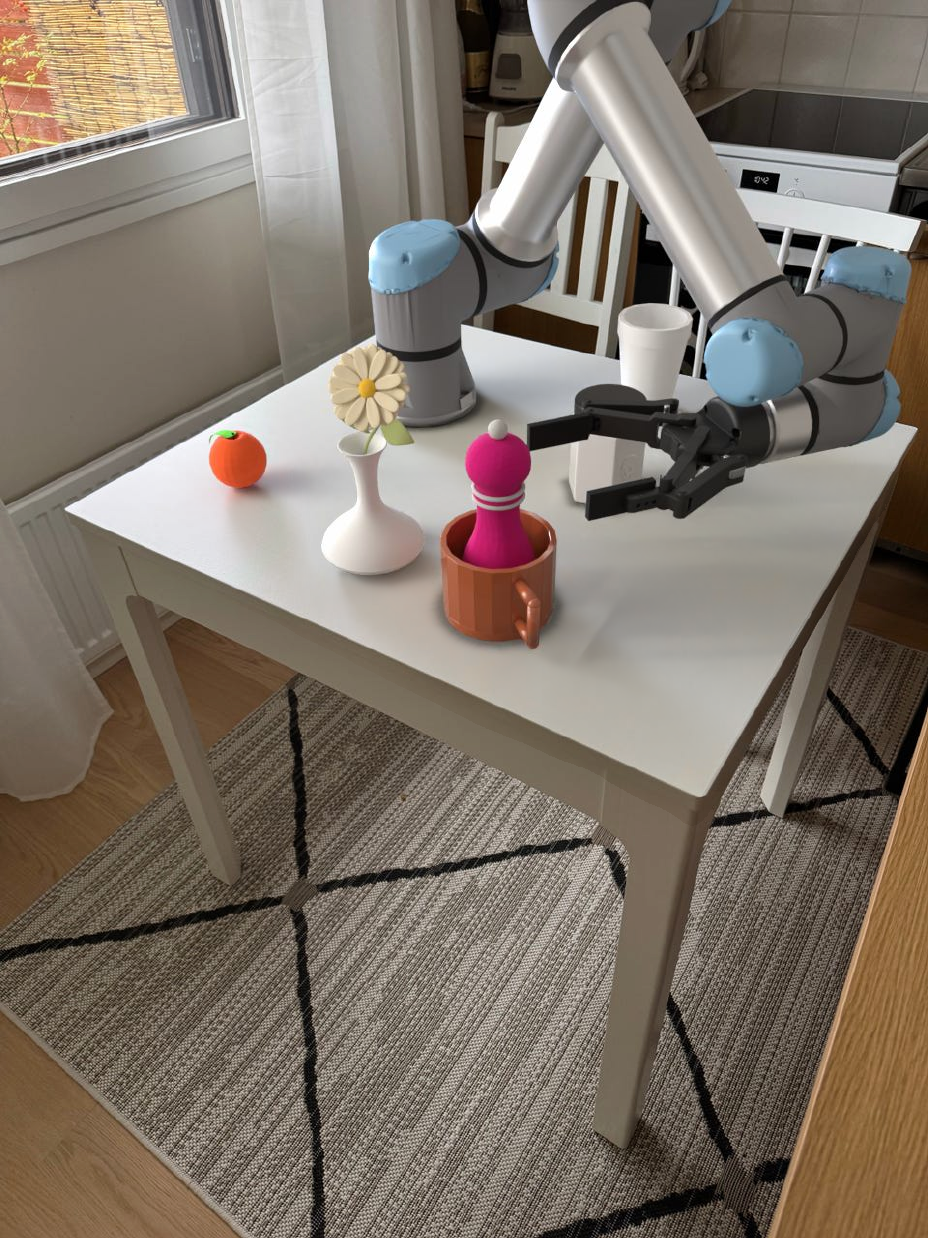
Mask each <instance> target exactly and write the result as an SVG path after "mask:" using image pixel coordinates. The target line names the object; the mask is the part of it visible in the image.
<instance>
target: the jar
mask: <svg viewBox="0 0 928 1238" xmlns="http://www.w3.org/2000/svg"><path fill="white" fill-rule="evenodd" d="M584 399H621V400H647V399H646V397H645V395H644V394H643V393H641V392H640V391H638V390H636V389H634V388H632V387H629V386H625V385H621V384H618V383H601V384H593V385H590V386H586V387H585V388H583V389H581V390H580V391H578V392H577V394H576V395H575V397H574V407H573V410H574V411H573V413H572V414H571V415H573V414H578V413H581V412H582V402H583V400H584ZM569 451H570V453H569V469H568V471H569V472H568V483H569V486H570V487H569V488H570V491H571V494H572V497H573V501H574V502H576V503H581V504H584V505H586V493H587V491H590V490H594V489H599V488H603V487H608V486H612V485H617V484H621V483H626V482H630V481H635V480H640V479H643V478H642V476H643V468H644V460H645V451H646V443H645V442H639V441H632V440H625V439H619V438H612V437H605V436H598V435H592V434H590V436H589V438H588V440H583V441H578V442H573V443H570V450H569Z"/></svg>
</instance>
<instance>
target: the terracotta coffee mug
mask: <svg viewBox="0 0 928 1238" xmlns="http://www.w3.org/2000/svg"><path fill="white" fill-rule="evenodd" d="M520 519H521V522H522V526H523V528H524V531H525V533H526V535H527V537H528V539H529V541H530V543H531V545H532V549H533V552H534V556H535V560H534V561H532V562H530V563H528V564H526V565H522V566H518V567H514V568H507V569H489V568H482V567H476V566H474V565H471V564H468V563H466V562H463V554H464V551H465V547H466V545H467V543H468V541H469V539H470V537H471V535H472V533H473V531H474V529H475V524H476V520H477V508H475V509H471V510H468V511H465V512H464V513H462V514H459V515H457V516H455V517H454V518H453V519H451V520H450V521H449V522H448V523H446V525H445V526H444V528H443V529H442V532H441V534H440V537H439V540H440V541H439V543H440V561H441V562H440V563H441V580H442V596H443V597H442V598H443V608H444V609H443V611H444V615H445V617H446V620H447V621H448V623H449V624H450V625H451V626H452V627H453V628H454V629H456V630H457V631H458V632H460V633H461V634H463V635H465V636H468V637H470V638H473V639H476V640H480V641H485V642H495V643H496V642H499V643H500V642H501V643H502V642H511V641H516V640H520V639H522V640H523V642H524V643H525V645H526V646H527V648H528V649H530V650H536V649H538V647H539V645H540V635H541V634H540V632H541V631H540V630H542V629H543V628H544V627H545V626H546V625H547V624H548V623H549V621H550V620H551V618H552V616H553V611H554V603H555V592H556V591H555V590H556V570H557V569H556V567H557V549H558V547H557V544H558V539H557V535H556V531H555V530H556V529H554V527H553V526H552V525H551V523H550V522H549V521H548V520H547V519H545V518H544V517H542V516H541V515H538V514H536V513H535V512H532V511H529V510H526V509H523V508H520Z"/></svg>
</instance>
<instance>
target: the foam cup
mask: <svg viewBox="0 0 928 1238" xmlns="http://www.w3.org/2000/svg"><path fill="white" fill-rule="evenodd" d="M693 321H694V318H693V316H692V313H690V312H689V311H688V310H686V309H684V308H682V307H679V306H676V305H673V304H672V305H671V304H668V303H651V302H648V303H640V304H633V305H631V306H628V307H624V308H623V309H622V310H621V312H620V313H619V314H618V319H617V329H616V331H617V332H616V333H617V336H618V345H619V367H620V385H625V386H629V387H632V388H634V389H636V390H638V391H640V392H641V393H643V394H644V395H645V397H646V399H647V400H663V399H670V398H674V397H673V396H674V393H675V390H676V386H677V382H678V378H679V374H680V371H681V368H682V363H683V360H684V356H685V353H686V349H687V346H688V341H689V340H690V338H691V337H692V336H691V335H692V328H693Z"/></svg>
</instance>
